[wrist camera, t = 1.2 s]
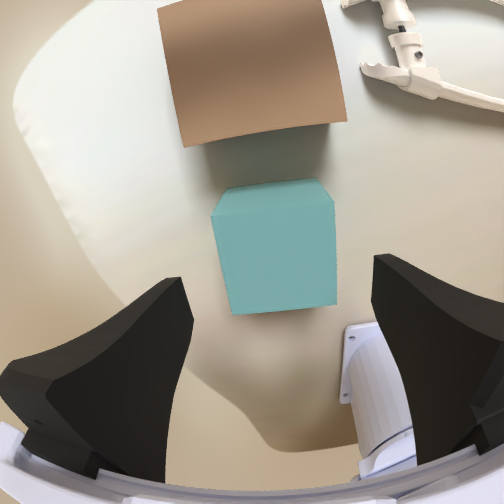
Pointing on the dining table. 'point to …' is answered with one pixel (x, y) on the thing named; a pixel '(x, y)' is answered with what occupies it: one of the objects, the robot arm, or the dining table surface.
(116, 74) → the dining table surface
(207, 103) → the walnut block
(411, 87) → the white curved loop
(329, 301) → the teal cube
